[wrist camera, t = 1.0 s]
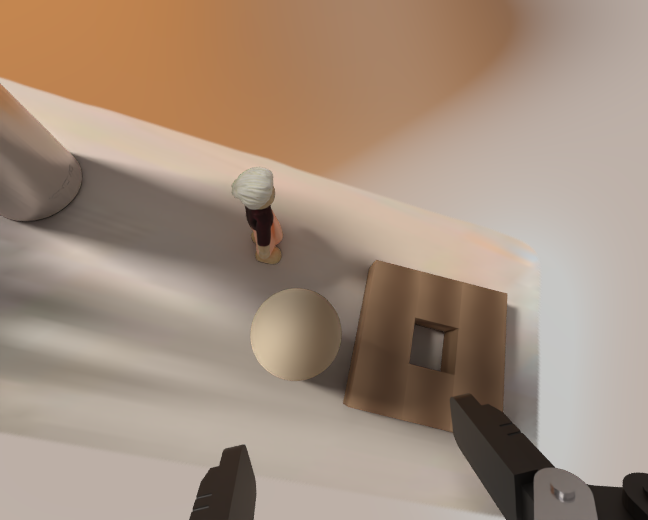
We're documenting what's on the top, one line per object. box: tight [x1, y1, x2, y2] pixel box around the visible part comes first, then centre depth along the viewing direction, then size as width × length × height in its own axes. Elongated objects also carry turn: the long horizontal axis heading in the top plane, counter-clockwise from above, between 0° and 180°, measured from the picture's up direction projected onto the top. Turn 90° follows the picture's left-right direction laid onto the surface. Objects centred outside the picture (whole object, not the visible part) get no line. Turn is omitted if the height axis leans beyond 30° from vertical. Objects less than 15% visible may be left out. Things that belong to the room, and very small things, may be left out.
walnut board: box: [343, 260, 507, 432], centre depth 32 cm, size 14×14×3 cm
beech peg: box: [250, 288, 342, 381], centre depth 26 cm, size 6×6×13 cm
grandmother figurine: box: [232, 167, 283, 264], centre depth 29 cm, size 8×4×13 cm, turn 23°
